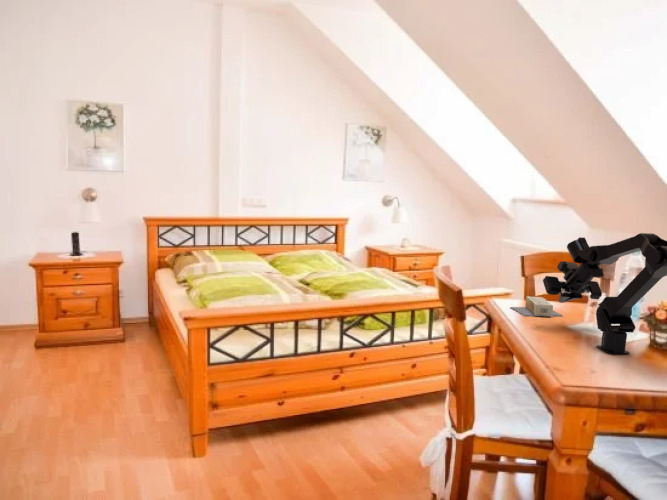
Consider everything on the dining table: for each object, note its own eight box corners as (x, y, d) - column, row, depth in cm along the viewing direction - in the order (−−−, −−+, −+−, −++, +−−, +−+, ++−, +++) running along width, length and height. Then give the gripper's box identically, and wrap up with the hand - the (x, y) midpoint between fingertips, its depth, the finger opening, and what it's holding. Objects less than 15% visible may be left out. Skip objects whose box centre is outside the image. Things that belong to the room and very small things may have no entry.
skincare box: (552, 316, 191) (542, 308, 203) (553, 305, 190) (543, 297, 203) (534, 315, 192) (524, 307, 204) (535, 304, 191) (526, 296, 203)
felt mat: (562, 316, 194) (562, 315, 194) (524, 316, 192) (524, 315, 192) (546, 308, 205) (546, 307, 205) (510, 308, 203) (510, 307, 203)
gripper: (602, 258, 177) (578, 285, 188) (550, 251, 174) (528, 279, 186) (613, 285, 170) (587, 311, 181) (559, 279, 167) (536, 306, 179)
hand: (560, 301), depth 182 cm, fingers closed
